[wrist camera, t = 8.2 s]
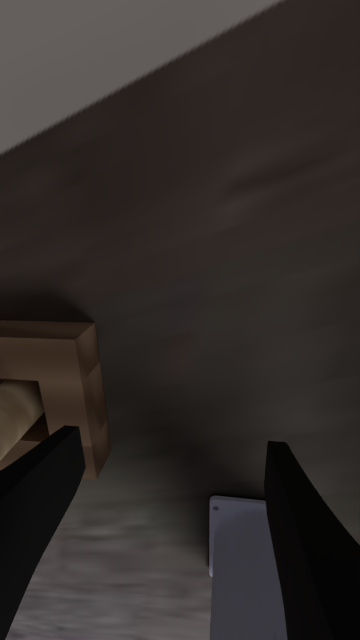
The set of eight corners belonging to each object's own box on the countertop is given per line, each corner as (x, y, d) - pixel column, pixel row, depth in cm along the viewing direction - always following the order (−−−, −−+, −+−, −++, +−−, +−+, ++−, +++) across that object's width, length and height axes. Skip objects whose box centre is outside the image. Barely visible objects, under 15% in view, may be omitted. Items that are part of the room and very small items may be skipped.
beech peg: (61, 406, 24) (1, 479, 18) (19, 403, 25) (-54, 472, 18) (54, 366, 23) (-14, 428, 17) (10, 363, 24) (-72, 422, 17)
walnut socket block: (111, 449, 25) (96, 479, 22) (-11, 439, 27) (-39, 465, 24) (94, 322, 21) (75, 339, 19) (-46, 319, 23) (-83, 334, 20)
